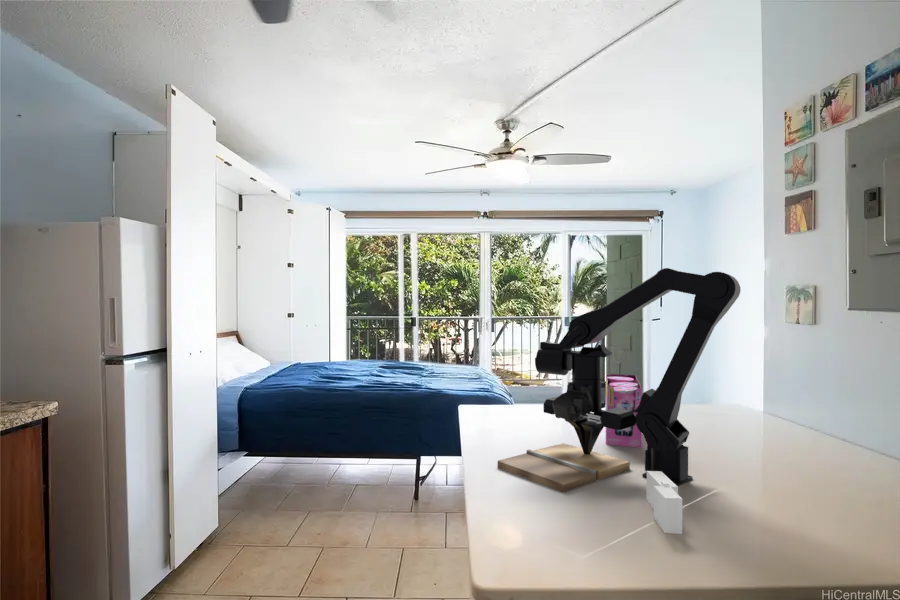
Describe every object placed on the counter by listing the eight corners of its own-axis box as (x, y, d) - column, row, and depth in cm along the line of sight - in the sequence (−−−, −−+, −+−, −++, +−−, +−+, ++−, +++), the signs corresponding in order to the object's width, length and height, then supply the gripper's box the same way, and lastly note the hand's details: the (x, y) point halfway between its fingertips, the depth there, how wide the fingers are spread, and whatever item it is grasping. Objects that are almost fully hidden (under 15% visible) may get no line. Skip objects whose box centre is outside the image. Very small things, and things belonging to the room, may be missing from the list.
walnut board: (595, 481, 88) (595, 470, 88) (563, 493, 83) (563, 480, 83) (529, 459, 101) (529, 449, 101) (497, 468, 95) (497, 457, 95)
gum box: (643, 450, 108) (643, 388, 109) (605, 447, 111) (605, 386, 111) (636, 425, 131) (636, 374, 131) (605, 423, 134) (605, 373, 134)
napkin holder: (641, 496, 83) (641, 462, 83) (715, 515, 76) (715, 478, 76) (602, 524, 72) (602, 485, 72) (683, 551, 65) (684, 507, 65)
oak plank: (629, 469, 95) (629, 461, 95) (599, 479, 89) (599, 471, 89) (563, 450, 108) (563, 443, 108) (532, 457, 101) (532, 450, 102)
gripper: (525, 376, 102) (526, 450, 103) (602, 389, 88) (603, 476, 88) (560, 370, 109) (560, 440, 109) (636, 381, 94) (637, 462, 95)
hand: (587, 453), depth 100 cm, fingers closed, pressing on oak plank
